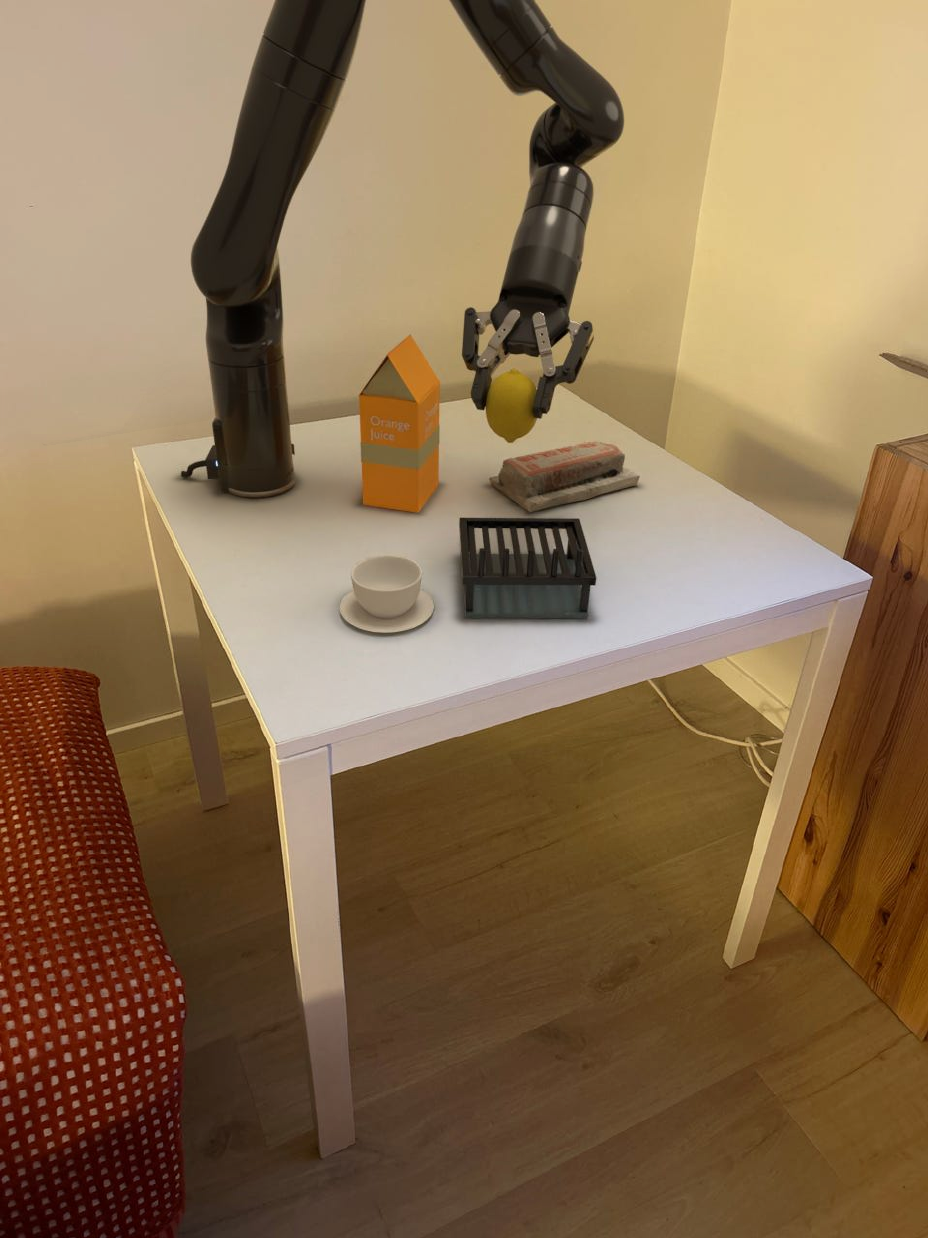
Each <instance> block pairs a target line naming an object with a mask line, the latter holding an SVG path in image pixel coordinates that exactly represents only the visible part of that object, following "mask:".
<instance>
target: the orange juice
mask: <svg viewBox="0 0 928 1238" xmlns="http://www.w3.org/2000/svg"><path fill="white" fill-rule="evenodd" d="M440 386H441V381H440V379H439V377H438V376H437V375H436V372H434V369H433V368H432V367H431V365H430V364H429V362H428V360H427V359H426V357H425V356H424V354H423V351H422V350H421V349H420V347H419V346H418V344H417V342H416V341H415V339H414V338H413V336H412V334H411V333H410V334H409V335H407V336H406V337H404V339H403V340H402V341H400V342H399V343H398V344H397V345H396V346H395V347H394V348H392V349H391V350H390V351H389V352H388V353H387V354H386V355H385V357H384V358H383V359H382V361H381V362H380V364H379V366H378V367H377V368H376V370H375V371H374V373H373V374H372V376H371V377H370V379H369V380H368V382H367V383H366V385H364V387H363V389H362V390H361V392H360V393H359V395H358V404H359V407H358V408H359V427H360V428H359V429H360V432H359V433H360V462H361V484H362V485H361V486H362V505H363V506H370V507H376V508H381V509H388V510H389V509H390V510H397V511H401V512H409V513H415V514H419V513H420V512H421V510H422V509H423V507H425V505H426V503H427V502H428V501H429V499H430V498H431V496H432V495H433V494H434V493H435V491H436V490H437V488H438V487H439V484H440V483H439V481H440V474H439V473H440V431H441V430H440V429H441V428H440V426H441V425H440V395H441V394H440V393H441V391H440V389H441V387H440Z"/></svg>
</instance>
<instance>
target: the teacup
mask: <svg viewBox="0 0 928 1238" xmlns="http://www.w3.org/2000/svg"><path fill="white" fill-rule="evenodd" d="M422 577H423V570H422V568H421V566H420V565H419V564H418V563H417V562H416V561H414V560H413V559H411V558H408V557H406V556H402V555H396V554H380V555H373V556H369V557H366V558H364V559H362V560H360V561H358V562H357V563H356V564H355V565H354V566H353V567H352V568H351V570H350V578H351V584H352V590H350V591H349V592H348V593H347V594H346V595H345V596H343V598H342V600H341V602H340V603H339V613H340V614H341V616H342V618H343V620H344V621H346V622H347V623H348V624H350V625H352V626H354V627H356V628H358V629H361V630H364V631H368V632H372V633H373V632H374V633H398V632H404V631H408V630H411V629H413V628H416V627H418V626H420V625H421V624H423V623H425V622H426V621H427V620H429V618H430V617H431V616H432V614H433V612H434V609H435V603H434V600H433V598H432V597H431V596H430V594H429V593H427V592H426V591H424V590H423V589H422V588H421V585H422Z"/></svg>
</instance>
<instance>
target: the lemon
mask: <svg viewBox="0 0 928 1238" xmlns="http://www.w3.org/2000/svg"><path fill="white" fill-rule="evenodd" d="M536 391H537V386H536V384H535V383H534V381H533V380H532V378H530V377H529V375H527V374H525V373H523V372H521V371H519V369H517V368H511V369H510V370H509V371H506V372H503V373H501V374H500V375H498V376H497V377H496V378H495V379H494V380H492V382H491V386H490V389H489V391H488V395H487V399H486V406H485V417H486V421H487V424H488V427H490V429H491V431H492V432H493V433H494V434H496V436H498V437H499V438H503V439H504V440H505V441H506V442H507V443H508V444H513V443H514V442H515V441H517V440H518V439H521V438H523V437H525V436H526V435H528V434H529V433H530V432H531V431H532V429H533V428H534V427H535V425H536V423H537V420H538V418H534V415H533V412H532V410H533V404H534V400H535V396H536Z"/></svg>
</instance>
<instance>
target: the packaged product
mask: <svg viewBox="0 0 928 1238" xmlns="http://www.w3.org/2000/svg"><path fill="white" fill-rule="evenodd" d="M625 459H626V455H625V453H624V452H623V451H621V450H620V448H619V447H618V446H617V445H615V444H614V443H613V444H612V443H605V442H601V441H588V442H581V443H578V444H575V445H568V446H563V447H560V448H559V447H558V448H555V449H549V450H545V451H540V452H534V453H530V454H529V453H528V454H524V455H520V456H515V457H510V458H507V459H504V460H503V461H502V467H501V468H500V471H499V473H498V475H495V476H494V475H493V476H490V477H489V479H488V480H489V483H490V485H492V486H493V487H494V488H496V489H497V490H499V491H500V492H501V493H503V494H504V495H506V496H507V497H508V498H510V500H512V501H514V502H515V503H516V504H518V505H519V506H521V507H522V508H523V509H525V510H526V511H528V512H529V513H532V512H533V513H534V512H537V511H541V510H544V509H547V508H552V507H556V506H560V505H565V504H569V503H576V502H580V501H587V500H589V499H592V498H595V497H597V496H600V495H603V494H606V493H611V492H615V491H619V490H622V489H627V488H631V487H635V486H637V485H638V483H639V480H640V477H641V476H640V475H639V474H637V473H635V472H634V471H631V470H629V469H627V468H625V467H624V464H625Z"/></svg>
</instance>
